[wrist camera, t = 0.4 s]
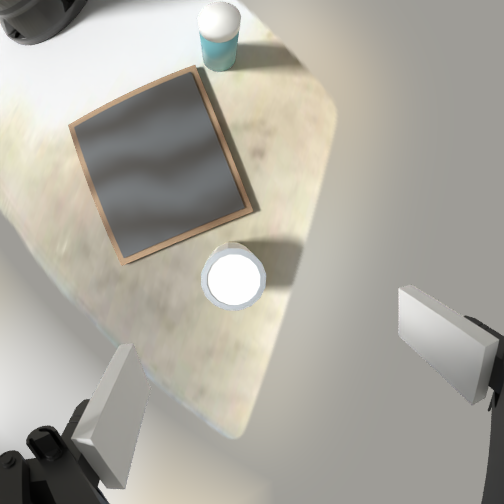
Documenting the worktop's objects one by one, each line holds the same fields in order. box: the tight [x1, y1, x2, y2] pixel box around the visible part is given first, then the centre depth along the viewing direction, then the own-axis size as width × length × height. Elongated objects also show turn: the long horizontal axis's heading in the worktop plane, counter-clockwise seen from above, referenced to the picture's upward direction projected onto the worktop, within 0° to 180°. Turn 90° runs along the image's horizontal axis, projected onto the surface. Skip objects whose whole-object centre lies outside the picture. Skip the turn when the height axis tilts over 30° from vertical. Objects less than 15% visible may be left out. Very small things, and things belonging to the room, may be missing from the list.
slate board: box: [68, 65, 253, 266], centre depth 36 cm, size 20×18×1 cm
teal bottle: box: [198, 2, 241, 72], centre depth 29 cm, size 4×4×11 cm
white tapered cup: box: [201, 242, 266, 310], centre depth 37 cm, size 7×7×7 cm
